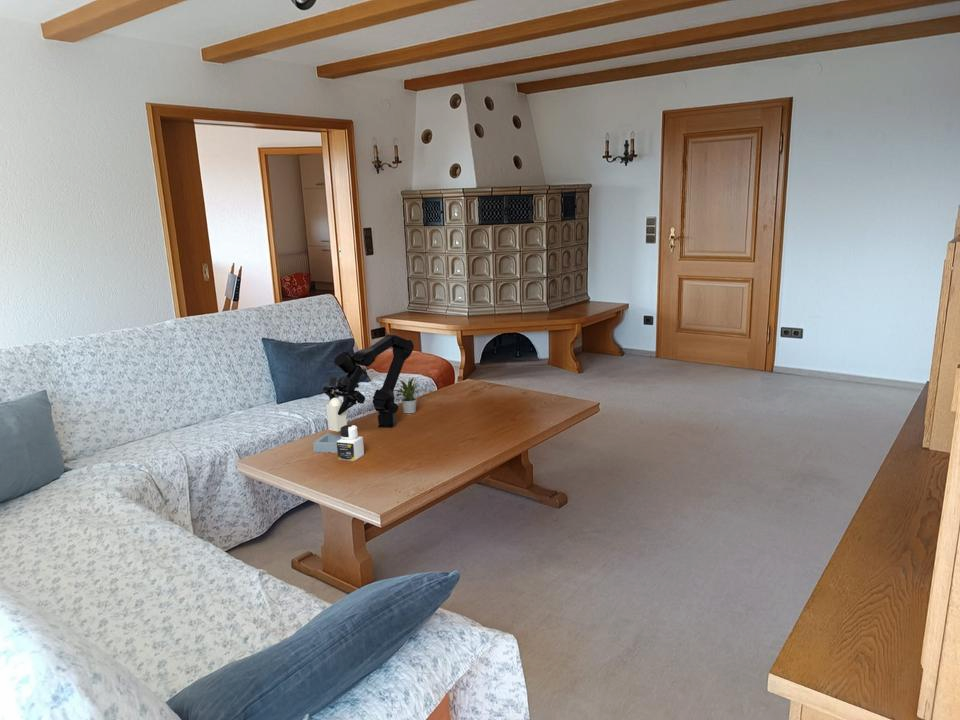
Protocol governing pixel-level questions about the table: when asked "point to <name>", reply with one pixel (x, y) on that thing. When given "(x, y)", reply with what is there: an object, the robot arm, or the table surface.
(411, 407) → the house plant
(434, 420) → the table surface
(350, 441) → the medicine bottle
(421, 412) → the table surface
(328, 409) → the cream egg block
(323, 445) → the blue square ring
